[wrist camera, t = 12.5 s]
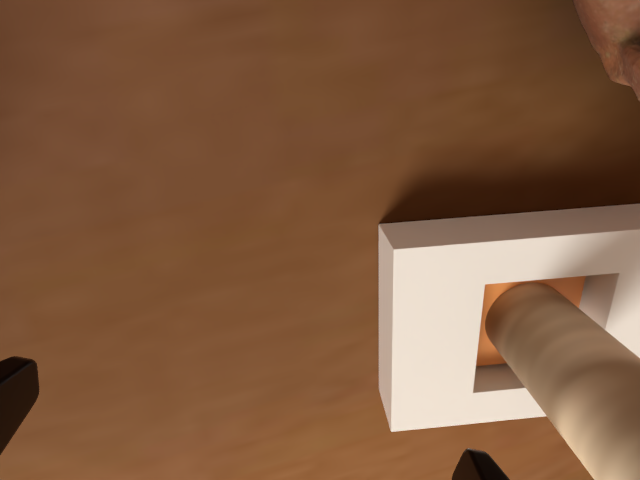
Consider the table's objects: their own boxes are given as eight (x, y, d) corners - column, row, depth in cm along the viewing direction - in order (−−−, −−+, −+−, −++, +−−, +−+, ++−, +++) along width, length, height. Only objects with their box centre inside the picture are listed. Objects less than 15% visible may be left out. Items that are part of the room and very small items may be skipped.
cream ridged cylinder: (502, 363, 21) (732, 679, 10) (472, 308, 20) (704, 606, 9) (574, 327, 21) (901, 619, 10) (549, 267, 19) (899, 531, 8)
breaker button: (456, 348, 23) (467, 367, 21) (463, 260, 21) (476, 274, 19) (551, 339, 23) (568, 357, 22) (568, 251, 21) (588, 264, 19)
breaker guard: (378, 389, 23) (391, 431, 21) (378, 223, 20) (393, 249, 17) (616, 366, 24) (659, 404, 21) (661, 201, 20) (721, 222, 17)
